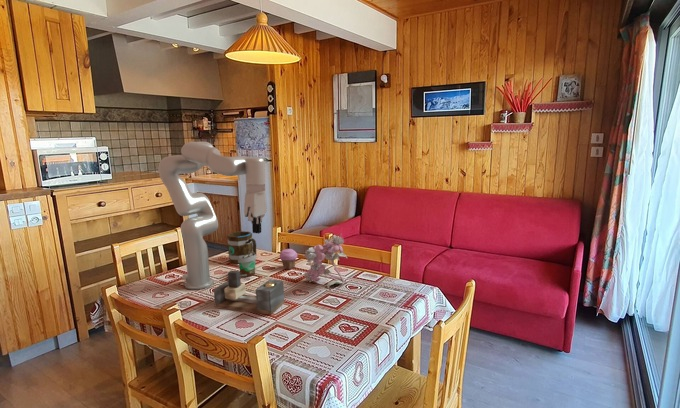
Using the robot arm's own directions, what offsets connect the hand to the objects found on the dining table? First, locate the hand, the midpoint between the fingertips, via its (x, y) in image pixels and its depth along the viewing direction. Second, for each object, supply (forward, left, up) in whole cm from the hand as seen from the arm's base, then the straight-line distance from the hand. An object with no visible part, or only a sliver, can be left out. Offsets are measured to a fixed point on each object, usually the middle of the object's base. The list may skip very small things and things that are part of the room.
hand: (256, 232), depth 157 cm
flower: (+20, +20, -28) cm, 40 cm away
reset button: (+10, -9, -23) cm, 27 cm away
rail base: (0, -9, -28) cm, 29 cm away
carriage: (-6, -9, -24) cm, 27 cm away
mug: (-32, +39, -28) cm, 58 cm away
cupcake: (-4, +36, -28) cm, 46 cm away
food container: (-18, +22, -28) cm, 40 cm away
